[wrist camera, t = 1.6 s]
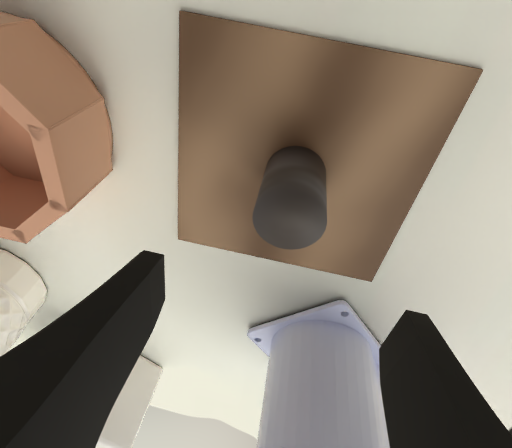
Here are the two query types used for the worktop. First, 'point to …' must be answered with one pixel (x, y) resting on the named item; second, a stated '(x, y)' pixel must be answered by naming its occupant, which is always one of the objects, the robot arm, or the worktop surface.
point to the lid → (305, 142)
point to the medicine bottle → (130, 406)
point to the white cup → (17, 298)
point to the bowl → (46, 130)
